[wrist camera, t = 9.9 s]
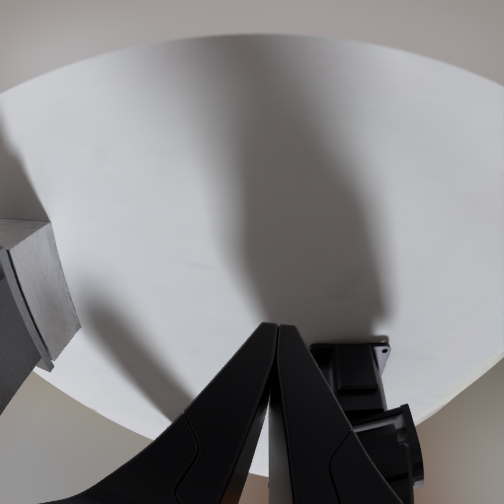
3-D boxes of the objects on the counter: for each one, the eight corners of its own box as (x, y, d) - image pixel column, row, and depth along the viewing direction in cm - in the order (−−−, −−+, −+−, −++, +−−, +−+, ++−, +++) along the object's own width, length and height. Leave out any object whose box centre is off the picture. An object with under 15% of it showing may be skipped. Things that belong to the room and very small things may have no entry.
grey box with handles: (46, 198, 19) (2, 223, 15) (86, 341, 26) (62, 375, 22) (-13, 199, 20) (-48, 219, 16) (26, 320, 27) (2, 346, 23)
